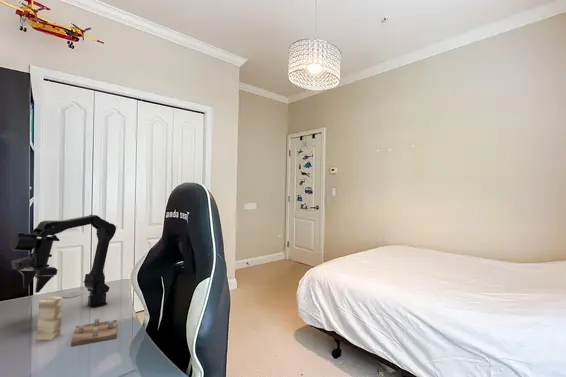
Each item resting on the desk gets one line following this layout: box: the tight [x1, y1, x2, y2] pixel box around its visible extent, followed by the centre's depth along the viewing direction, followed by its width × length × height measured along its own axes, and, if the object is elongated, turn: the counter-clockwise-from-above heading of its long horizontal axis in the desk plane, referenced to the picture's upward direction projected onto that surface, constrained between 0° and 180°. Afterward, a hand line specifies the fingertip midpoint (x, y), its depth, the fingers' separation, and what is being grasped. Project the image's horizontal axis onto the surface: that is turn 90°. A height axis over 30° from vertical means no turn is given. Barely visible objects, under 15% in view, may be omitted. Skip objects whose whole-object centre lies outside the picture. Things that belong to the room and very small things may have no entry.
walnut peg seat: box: [70, 317, 118, 347], centre depth 113 cm, size 14×14×4 cm
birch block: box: [36, 296, 64, 341], centre depth 110 cm, size 5×5×14 cm
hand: (31, 290), depth 118 cm, fingers open, 9 cm apart
